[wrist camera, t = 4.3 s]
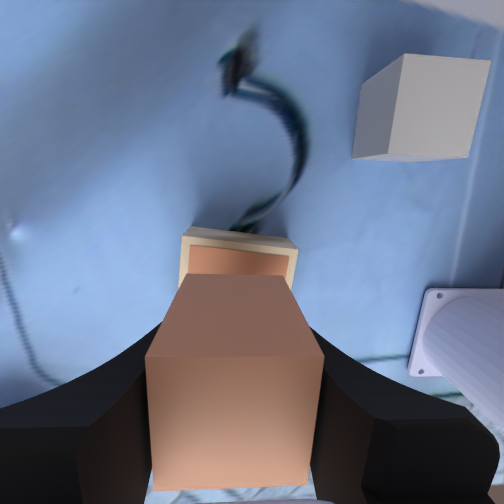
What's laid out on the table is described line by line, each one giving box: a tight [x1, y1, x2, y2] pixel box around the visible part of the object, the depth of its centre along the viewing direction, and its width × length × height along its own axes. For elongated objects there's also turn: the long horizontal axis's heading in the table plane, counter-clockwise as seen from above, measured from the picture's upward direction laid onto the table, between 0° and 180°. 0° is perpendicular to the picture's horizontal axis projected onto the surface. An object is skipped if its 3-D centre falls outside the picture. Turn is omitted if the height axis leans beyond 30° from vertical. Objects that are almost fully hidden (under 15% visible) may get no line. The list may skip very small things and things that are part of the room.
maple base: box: [178, 226, 299, 290], centre depth 18 cm, size 7×7×4 cm
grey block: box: [351, 53, 491, 162], centre depth 16 cm, size 4×4×4 cm
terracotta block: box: [145, 273, 324, 491], centre depth 10 cm, size 4×4×6 cm
